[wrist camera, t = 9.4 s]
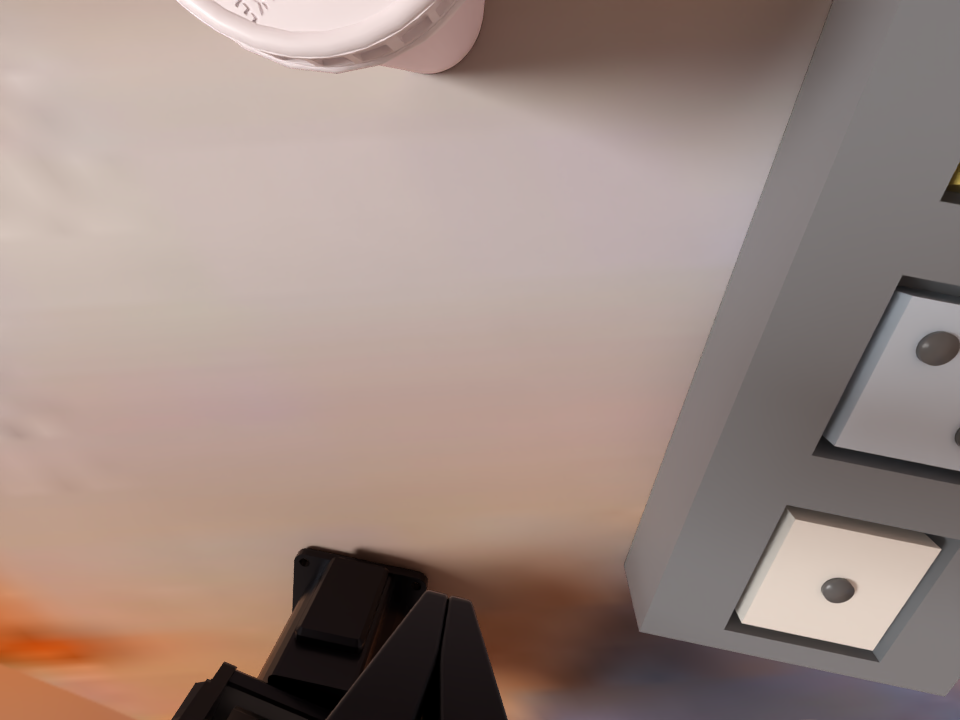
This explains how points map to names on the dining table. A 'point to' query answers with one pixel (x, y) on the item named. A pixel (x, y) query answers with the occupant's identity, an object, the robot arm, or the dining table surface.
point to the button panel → (820, 353)
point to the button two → (906, 384)
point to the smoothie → (348, 31)
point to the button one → (834, 577)
